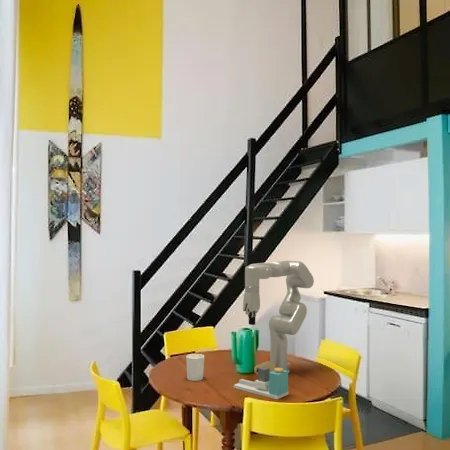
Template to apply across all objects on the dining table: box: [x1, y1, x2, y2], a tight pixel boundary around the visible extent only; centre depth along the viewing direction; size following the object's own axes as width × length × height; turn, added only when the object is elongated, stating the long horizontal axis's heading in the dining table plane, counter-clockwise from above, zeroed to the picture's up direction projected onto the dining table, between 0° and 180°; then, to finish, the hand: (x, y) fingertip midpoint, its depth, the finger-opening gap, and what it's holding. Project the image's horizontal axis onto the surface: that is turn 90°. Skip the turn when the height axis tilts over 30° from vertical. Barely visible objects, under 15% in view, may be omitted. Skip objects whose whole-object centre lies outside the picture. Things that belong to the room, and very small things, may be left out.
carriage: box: [254, 367, 270, 390], centre depth 247 cm, size 7×6×10 cm
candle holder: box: [185, 353, 205, 382], centre depth 267 cm, size 10×10×12 cm
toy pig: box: [253, 360, 276, 376], centre depth 264 cm, size 10×12×11 cm
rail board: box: [233, 370, 289, 400], centre depth 248 cm, size 10×26×12 cm, turn 52°
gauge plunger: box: [274, 368, 284, 373], centre depth 242 cm, size 4×4×7 cm
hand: (252, 324), depth 263 cm, fingers closed
